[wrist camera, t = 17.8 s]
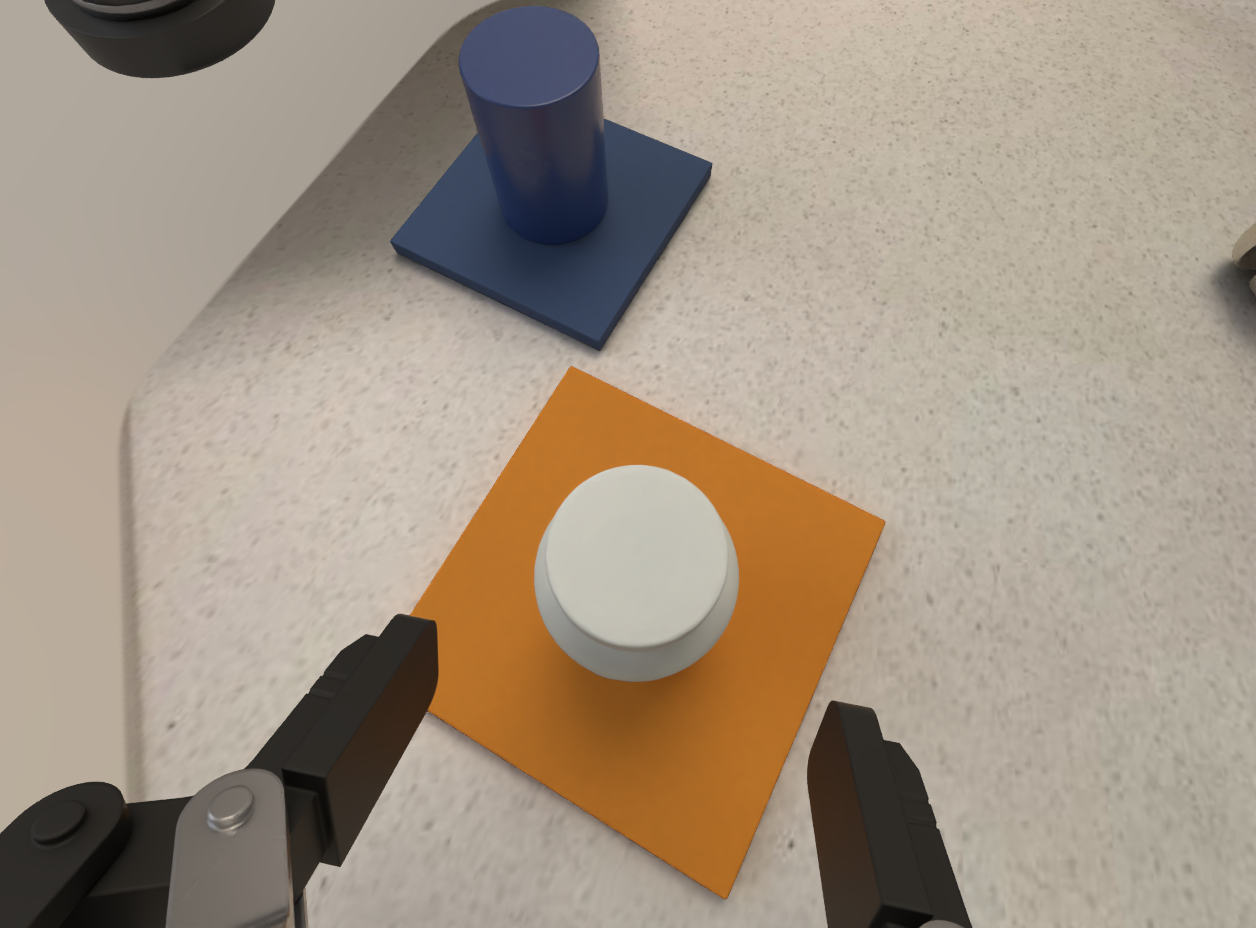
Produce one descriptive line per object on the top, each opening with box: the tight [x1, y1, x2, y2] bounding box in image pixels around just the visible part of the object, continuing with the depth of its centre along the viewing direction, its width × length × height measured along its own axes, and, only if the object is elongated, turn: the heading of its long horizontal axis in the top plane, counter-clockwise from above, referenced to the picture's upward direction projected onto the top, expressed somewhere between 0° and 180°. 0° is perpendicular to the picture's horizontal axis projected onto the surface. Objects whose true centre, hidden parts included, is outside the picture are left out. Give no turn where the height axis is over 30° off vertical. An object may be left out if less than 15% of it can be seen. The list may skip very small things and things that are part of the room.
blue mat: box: [390, 118, 712, 350], centre depth 28 cm, size 11×11×1 cm
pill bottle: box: [534, 465, 739, 682], centre depth 17 cm, size 5×5×10 cm
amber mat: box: [410, 366, 885, 899], centre depth 22 cm, size 14×14×1 cm
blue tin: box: [459, 6, 608, 244], centre depth 24 cm, size 5×5×7 cm
